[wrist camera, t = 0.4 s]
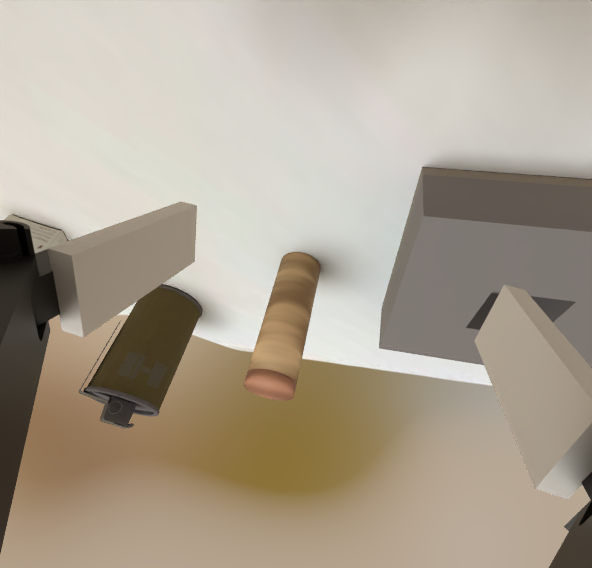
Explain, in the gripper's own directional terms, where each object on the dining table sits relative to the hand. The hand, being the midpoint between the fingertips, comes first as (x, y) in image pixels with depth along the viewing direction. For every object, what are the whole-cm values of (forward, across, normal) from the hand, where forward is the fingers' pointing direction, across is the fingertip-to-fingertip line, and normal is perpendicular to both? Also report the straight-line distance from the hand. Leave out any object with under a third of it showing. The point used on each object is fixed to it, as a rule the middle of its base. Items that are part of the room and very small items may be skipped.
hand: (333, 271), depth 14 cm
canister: (+30, -27, -26) cm, 48 cm away
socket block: (+23, +16, -5) cm, 29 cm away
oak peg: (+24, -5, -11) cm, 27 cm away
